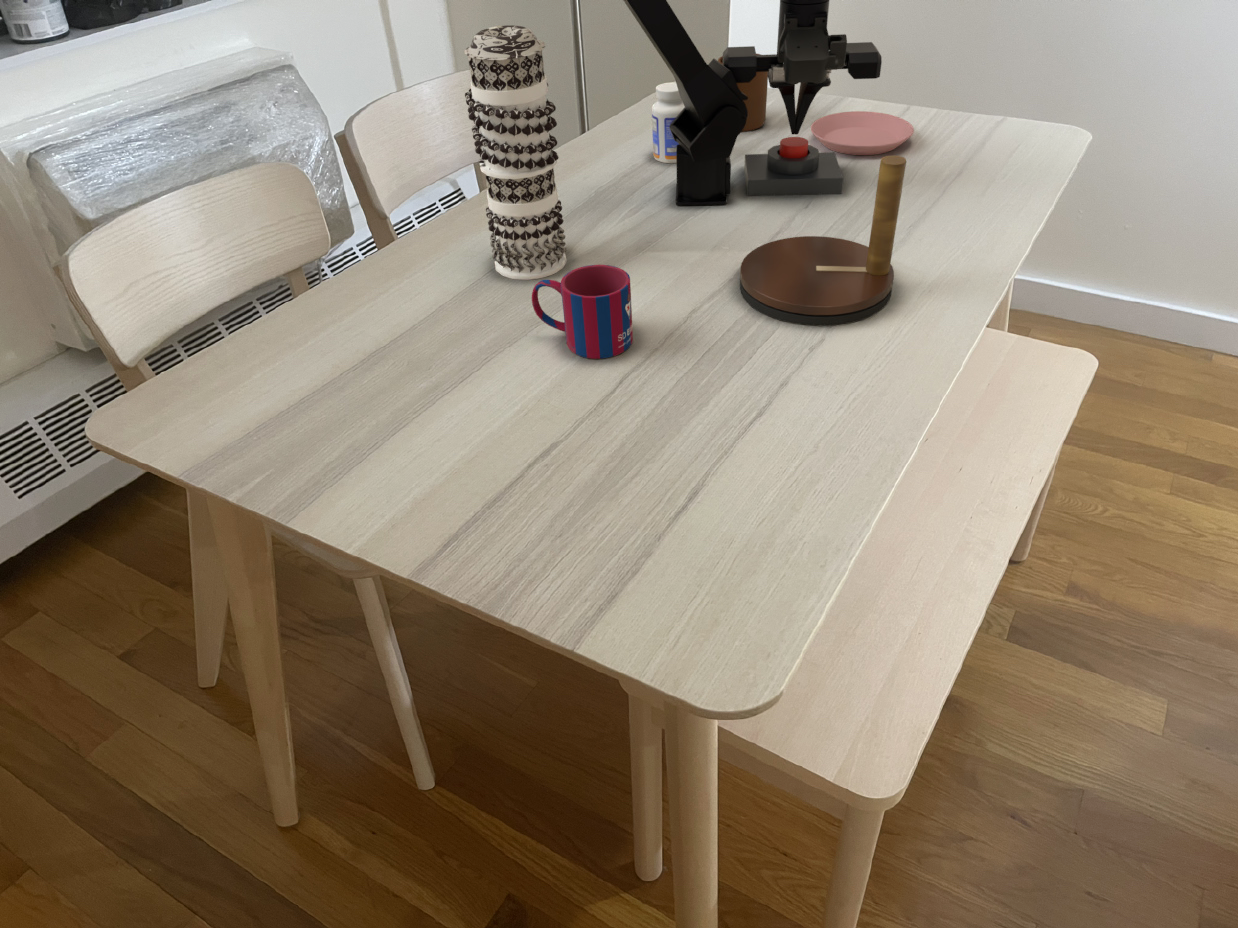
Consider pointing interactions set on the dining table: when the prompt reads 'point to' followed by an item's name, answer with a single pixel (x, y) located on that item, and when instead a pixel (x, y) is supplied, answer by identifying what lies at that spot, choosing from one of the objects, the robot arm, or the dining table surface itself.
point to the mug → (754, 99)
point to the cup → (592, 310)
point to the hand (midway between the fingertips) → (794, 133)
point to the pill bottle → (665, 121)
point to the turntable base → (813, 319)
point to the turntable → (831, 261)
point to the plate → (861, 132)
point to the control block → (792, 174)
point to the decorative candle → (516, 151)
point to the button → (793, 147)
